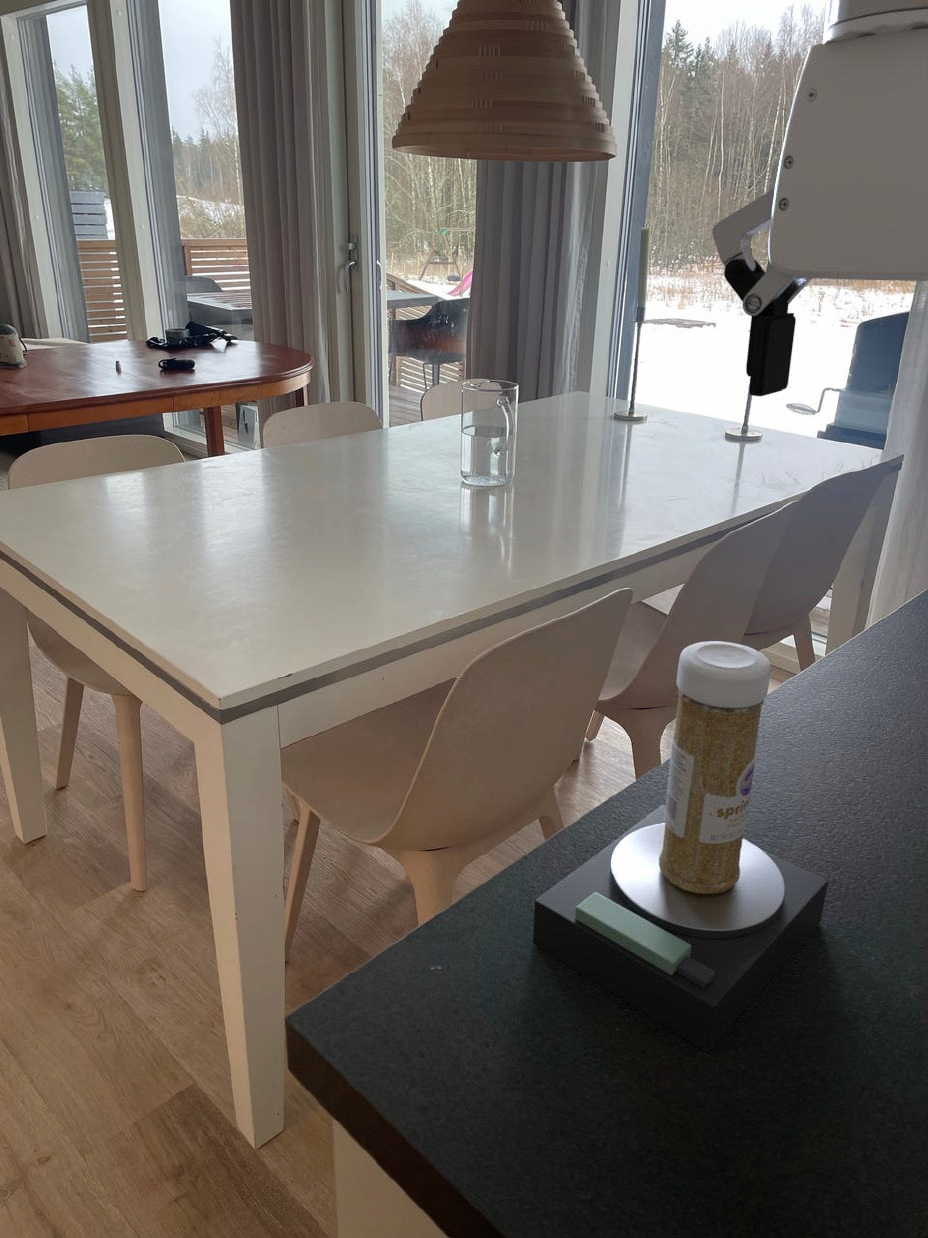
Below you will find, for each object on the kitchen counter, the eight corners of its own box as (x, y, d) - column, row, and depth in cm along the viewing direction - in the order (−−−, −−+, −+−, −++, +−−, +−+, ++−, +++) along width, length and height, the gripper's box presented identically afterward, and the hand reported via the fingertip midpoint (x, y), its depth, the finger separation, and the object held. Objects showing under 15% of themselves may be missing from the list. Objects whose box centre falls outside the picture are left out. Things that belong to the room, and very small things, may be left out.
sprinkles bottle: (734, 906, 50) (768, 681, 45) (649, 885, 51) (672, 665, 46) (743, 857, 54) (775, 645, 49) (664, 839, 55) (687, 632, 50)
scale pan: (667, 811, 59) (668, 804, 59) (813, 879, 53) (814, 870, 53) (576, 881, 53) (577, 873, 52) (730, 967, 47) (732, 957, 46)
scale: (658, 843, 61) (663, 793, 60) (820, 922, 54) (831, 868, 53) (532, 943, 52) (535, 888, 51) (707, 1053, 45) (715, 993, 44)
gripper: (1176, -19, 37) (1073, 412, 44) (770, 40, 48) (736, 378, 55) (1141, -57, 32) (1029, 437, 39) (696, 19, 43) (668, 394, 50)
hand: (858, 402), depth 47 cm, fingers open, 9 cm apart
